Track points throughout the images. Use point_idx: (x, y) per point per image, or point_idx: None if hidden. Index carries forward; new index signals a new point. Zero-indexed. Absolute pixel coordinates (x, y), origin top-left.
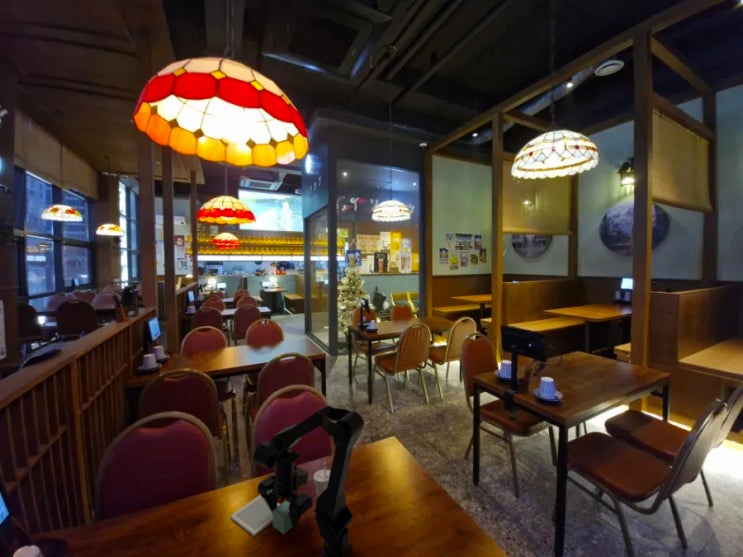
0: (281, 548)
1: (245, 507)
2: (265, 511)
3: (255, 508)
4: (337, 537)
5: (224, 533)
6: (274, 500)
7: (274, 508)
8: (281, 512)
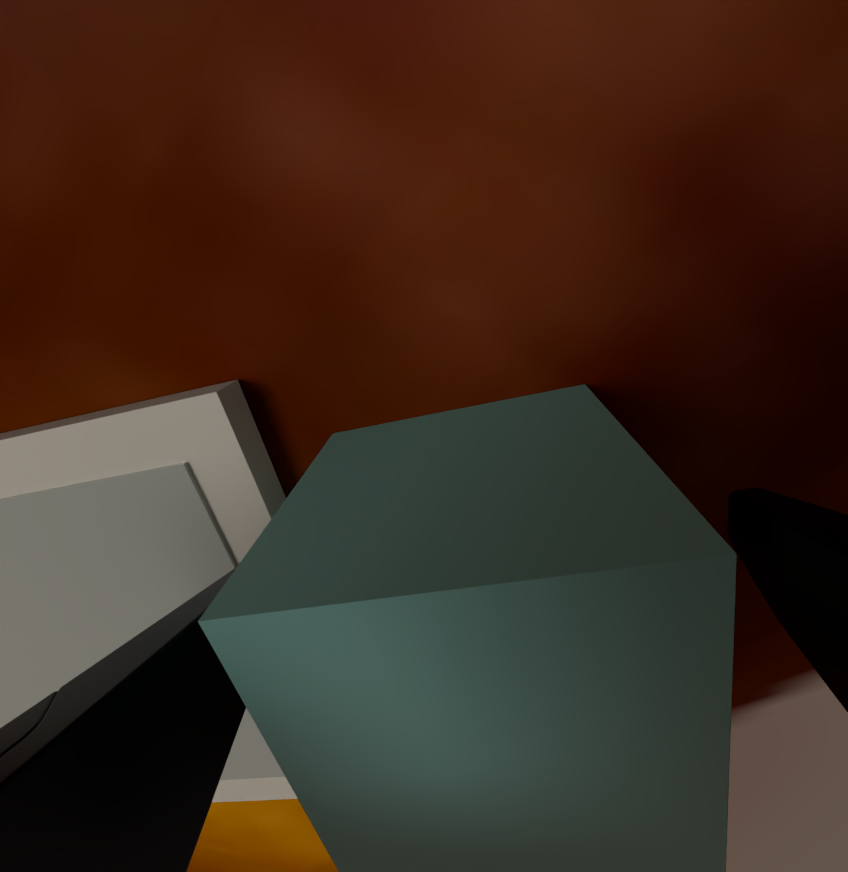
0: (752, 689)
1: None
2: (134, 617)
3: (28, 664)
4: None
5: (205, 846)
6: (86, 841)
7: (218, 679)
8: (530, 834)
